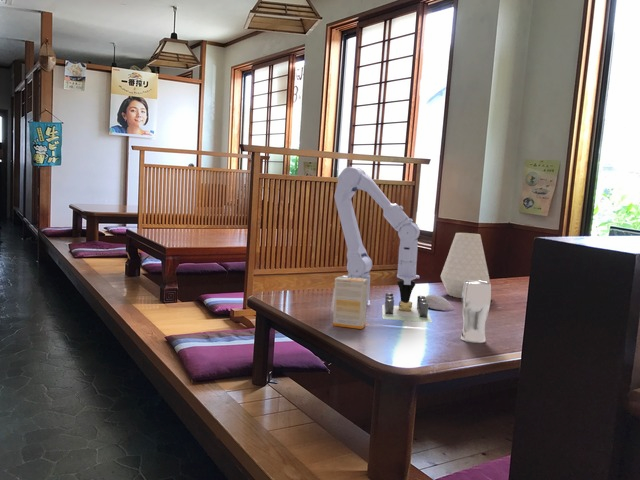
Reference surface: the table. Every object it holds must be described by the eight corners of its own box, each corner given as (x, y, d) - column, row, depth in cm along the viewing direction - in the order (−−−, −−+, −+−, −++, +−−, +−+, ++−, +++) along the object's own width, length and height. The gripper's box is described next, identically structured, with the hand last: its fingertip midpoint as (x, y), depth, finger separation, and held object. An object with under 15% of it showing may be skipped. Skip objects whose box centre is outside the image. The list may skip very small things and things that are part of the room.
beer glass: (455, 336, 144) (459, 279, 143) (481, 336, 145) (485, 280, 143) (464, 343, 137) (469, 284, 136) (491, 344, 138) (496, 285, 136)
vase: (493, 296, 206) (498, 234, 204) (480, 302, 192) (485, 237, 190) (448, 289, 216) (452, 231, 214) (432, 295, 201) (436, 232, 199)
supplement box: (366, 325, 150) (368, 278, 149) (361, 329, 146) (364, 280, 144) (337, 322, 153) (339, 275, 152) (331, 325, 148) (334, 277, 147)
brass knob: (398, 311, 168) (399, 302, 168) (398, 308, 172) (398, 300, 172) (412, 312, 168) (412, 303, 168) (411, 309, 172) (411, 301, 172)
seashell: (421, 294, 183) (452, 291, 181) (422, 310, 183) (453, 308, 181) (420, 297, 173) (453, 295, 171) (422, 314, 173) (454, 312, 171)
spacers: (385, 314, 162) (386, 301, 162) (384, 305, 176) (385, 292, 176) (427, 317, 161) (428, 304, 161) (423, 307, 175) (424, 295, 175)
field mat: (382, 320, 157) (382, 318, 157) (382, 306, 177) (382, 304, 177) (432, 324, 156) (432, 322, 156) (426, 309, 175) (426, 307, 175)
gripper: (422, 265, 166) (419, 309, 167) (418, 259, 180) (415, 300, 181) (398, 263, 166) (395, 307, 168) (397, 257, 181) (394, 298, 182)
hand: (404, 303), depth 175 cm, fingers closed
